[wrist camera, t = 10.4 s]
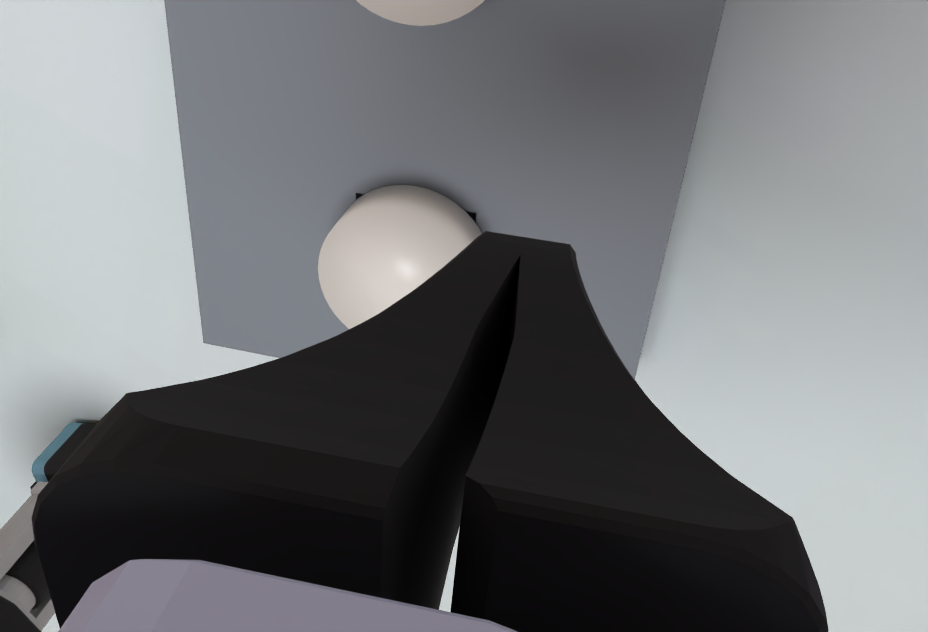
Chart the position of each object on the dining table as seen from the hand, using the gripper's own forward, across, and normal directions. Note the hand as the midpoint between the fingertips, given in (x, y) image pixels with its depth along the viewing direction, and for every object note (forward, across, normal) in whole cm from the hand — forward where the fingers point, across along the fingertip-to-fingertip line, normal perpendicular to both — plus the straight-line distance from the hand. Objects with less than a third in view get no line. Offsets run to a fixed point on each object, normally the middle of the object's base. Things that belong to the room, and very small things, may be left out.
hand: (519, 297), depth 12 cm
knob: (+9, +3, +4) cm, 11 cm away
